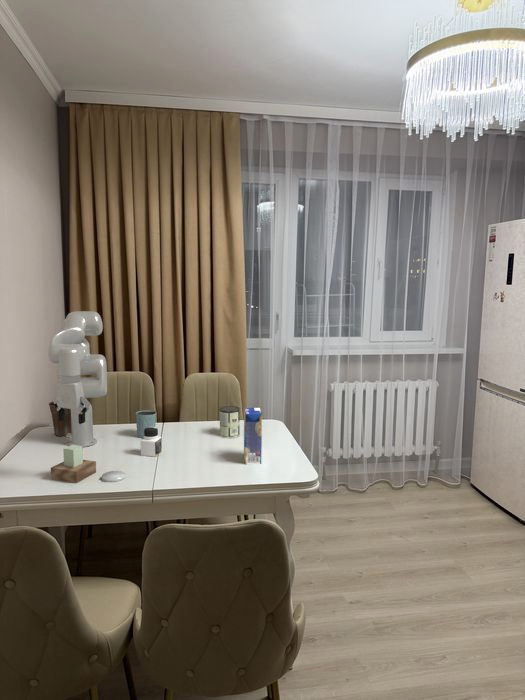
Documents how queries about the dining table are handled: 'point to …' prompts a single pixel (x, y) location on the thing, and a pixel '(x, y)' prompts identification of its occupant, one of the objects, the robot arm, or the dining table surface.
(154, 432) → the medicine bottle
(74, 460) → the sage block
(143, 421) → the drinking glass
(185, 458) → the dining table surface
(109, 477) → the white domed disc
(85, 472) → the walnut block
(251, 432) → the beverage box
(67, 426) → the plant pot
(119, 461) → the dining table surface
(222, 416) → the coffee can
